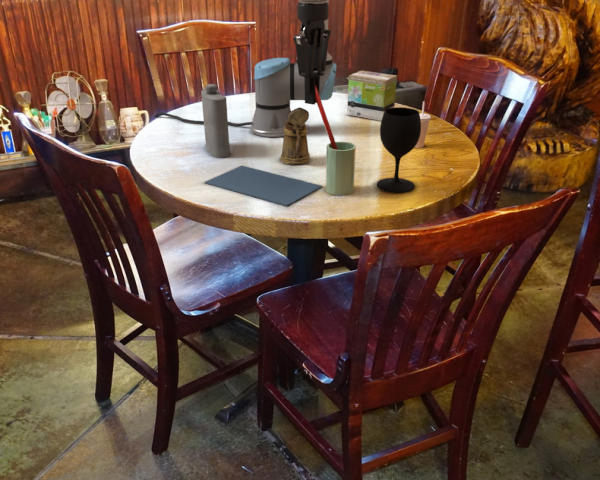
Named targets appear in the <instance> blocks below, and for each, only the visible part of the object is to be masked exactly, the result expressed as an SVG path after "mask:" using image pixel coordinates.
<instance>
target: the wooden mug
mask: <svg viewBox="0 0 600 480" xmlns="http://www.w3.org/2000/svg"><path fill="white" fill-rule="evenodd" d="M309 117H310V113H309V111H308V110H307V109H305V108H303V107H296V108H294V109H292V110H291V112H290V113H289V114H288V121H287V122H286V123H285V127H284V136H283V141H282V148H281V153H280V158H279V161H280V162H281V163H284V164H286V165H292V166H296V165H297V166H298V165H299V166H300V165H305V164H307V163H310V161H311V154H310V151H309V145H308V138H307V137H308V136H307V135H308V134H309V132H308V127H307V125H306V122H307V121H308V120H309Z"/></svg>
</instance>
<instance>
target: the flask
mask: <svg viewBox="0 0 600 480" xmlns="http://www.w3.org/2000/svg"><path fill="white" fill-rule="evenodd" d="M200 92H201V94H200V95H201V103H202V117H203V121H204V124H203V127H204V139H205V149H206V151H207V153H209V154H210V155H211V156H213V157H215V158H218V159H219V158H220V159H222V158H223V159H225V158H227V157H230V155H231V154H230V153H231V151H230V150H231V149H230V136H229V125H228V122H229V120H228V119H229V118H228V105H227V103H228V102H227V96H225V95H223V94H221V93H219V89H218V85H216V84H215V83H208V84H206V85H205V88H203V89H202V90H201V91H200Z"/></svg>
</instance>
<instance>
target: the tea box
mask: <svg viewBox="0 0 600 480" xmlns="http://www.w3.org/2000/svg"><path fill="white" fill-rule="evenodd" d="M397 81H398V74H397V75H396V74H389V73H382V72H375V71H368V70H359V71H357V72H354V73H352V74H349V75H348V88H347V106H346V114H347V116H351V117H352V116H353V117H357V118H358V117H359V118H363V119H368V120H374V121H379V122H381V121H382V117H383V115H384V112H385V110H386V109H389V108H395V105H396V94H397Z"/></svg>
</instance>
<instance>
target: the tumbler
mask: <svg viewBox="0 0 600 480" xmlns="http://www.w3.org/2000/svg"><path fill="white" fill-rule="evenodd" d="M335 143H336V145H337V148H338V150H335V149H333V148H332V145H331V142H329V143H327V144H326V151H325V152H326V154H325V155H326V158H325V191H326V192H327V193H328V194H330V195H333V196H345V195H350V194H352V193H353V192H354V191H355V189H354V188H355V176H356V174H355V171H356V155H357V154H356V153H357V150H356V149H357V146H356V144H354V143H353V142H348V141H335Z"/></svg>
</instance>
